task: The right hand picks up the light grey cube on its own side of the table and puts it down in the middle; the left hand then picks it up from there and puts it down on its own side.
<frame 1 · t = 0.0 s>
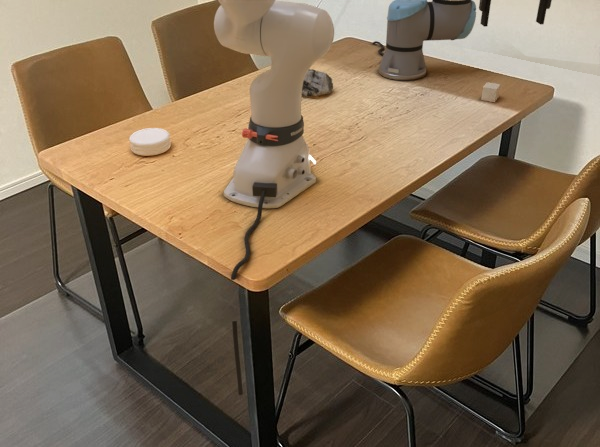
right hand: (511, 24, 147), 28 cm above the table, tool pointing down, fingers open, 13 cm apart
light grey cube: (489, 98, 183), on the table
white round disc: (151, 148, 157), on the table
rock: (308, 90, 190), on the table
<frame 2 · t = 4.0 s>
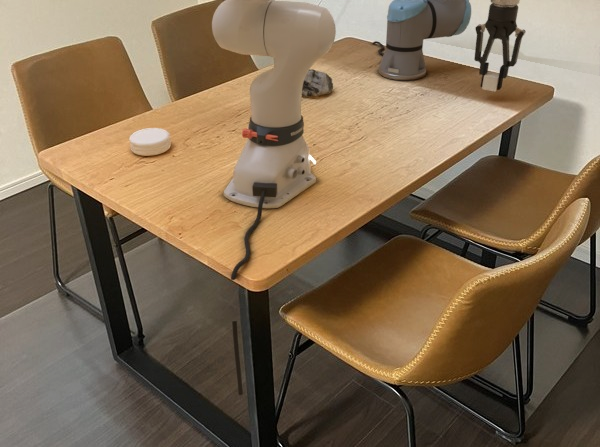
right hand: (491, 86, 181), 4 cm above the table, tool pointing down, fingers closed on light grey cube, 4 cm apart
light grey cube: (490, 88, 181), point 3 cm above the table, touching right hand
everything else where it was.
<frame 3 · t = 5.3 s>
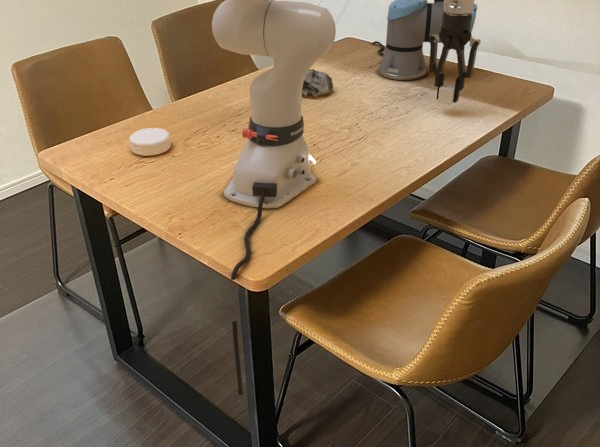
right hand: (447, 99, 172), 4 cm above the table, tool pointing down, fingers closed on light grey cube, 4 cm apart
light grey cube: (447, 100, 172), point 4 cm above the table, touching right hand
everything else where it was.
when the right hand's fingers open (0 cm above the table, at t = 6.6 s): light grey cube stays where it is, on the table.
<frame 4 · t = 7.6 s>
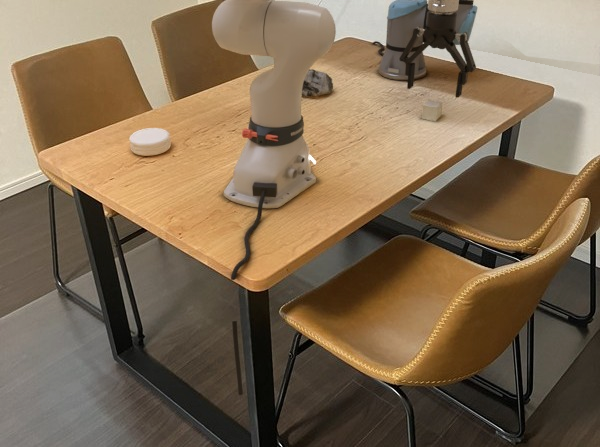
right hand: (433, 91, 168), 7 cm above the table, tool pointing down, fingers open, 13 cm apart
light grey cube: (431, 117, 171), on the table
everything else where it was.
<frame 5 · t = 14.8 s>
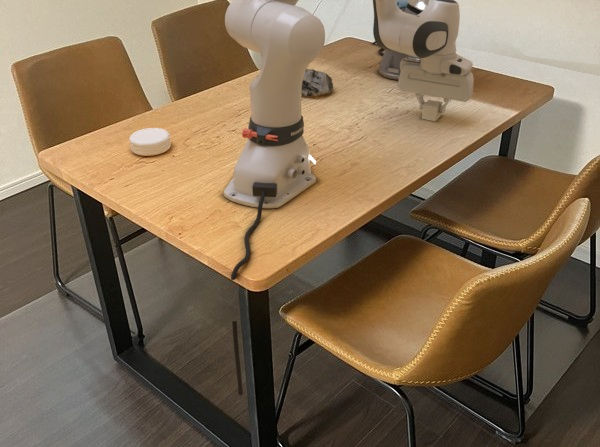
left hand: (432, 110, 171), 2 cm above the table, tool pointing down, fingers closed on light grey cube, 4 cm apart
light grey cube: (431, 117, 172), on the table, touching left hand
everything else where it was.
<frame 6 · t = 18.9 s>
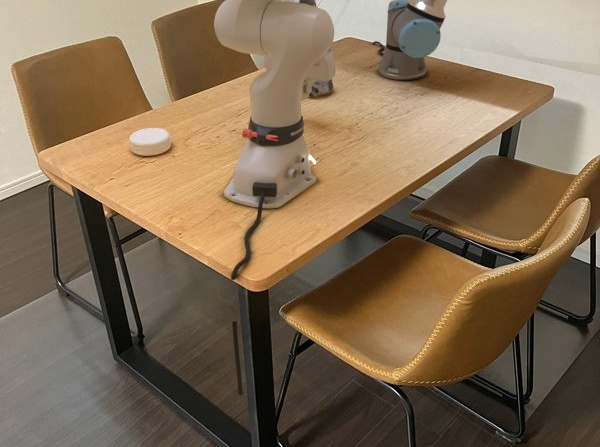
left hand: (299, 91, 166), 9 cm above the table, tool pointing down, fingers closed on light grey cube, 4 cm apart
light grey cube: (298, 98, 167), point 7 cm above the table, touching left hand
everything else where it was.
when the left hand's fingers open (3 cm above the table, at t = 23.3 s): light grey cube stays where it is, on the table.
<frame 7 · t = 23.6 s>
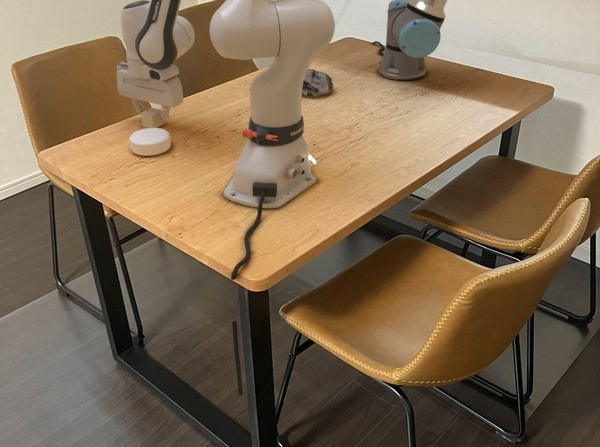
left hand: (153, 116, 168), 3 cm above the table, tool pointing down, fingers open, 7 cm apart
light grey cube: (153, 125, 169), on the table
everything else where it was.
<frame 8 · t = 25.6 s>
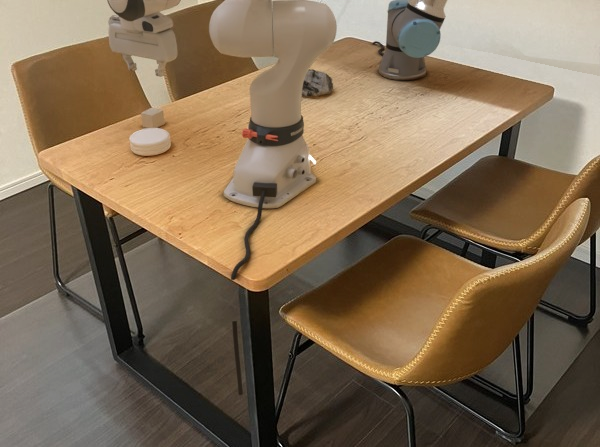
left hand: (146, 73, 162), 15 cm above the table, tool pointing down, fingers open, 8 cm apart
nothing on the table moved.
at the end: light grey cube inside the target area (0.2 cm from its centre), on the table; light grey cube tilted 0°; the two hands never held the light grey cube at the same time; the left hand is holding nothing; the right hand is holding nothing; light grey cube at rest at the end (0.0 cm/s) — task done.
